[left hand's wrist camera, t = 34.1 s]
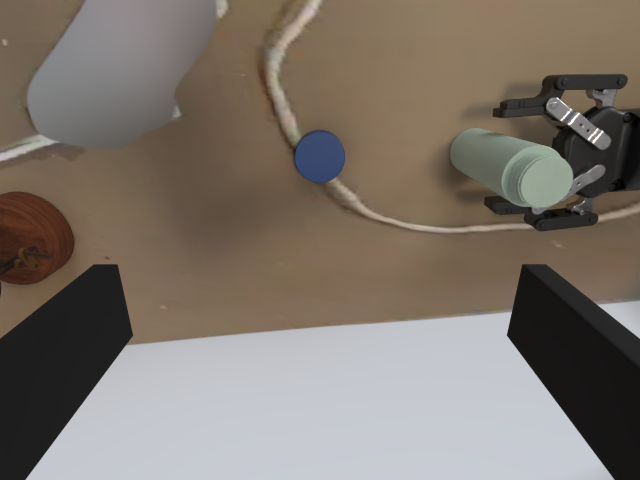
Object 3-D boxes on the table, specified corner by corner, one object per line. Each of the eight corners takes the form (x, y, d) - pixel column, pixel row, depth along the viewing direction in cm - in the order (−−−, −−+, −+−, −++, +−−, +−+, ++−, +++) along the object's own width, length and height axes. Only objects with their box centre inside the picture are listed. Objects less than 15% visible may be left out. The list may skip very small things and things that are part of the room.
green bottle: (458, 123, 42) (530, 142, 27) (501, 133, 42) (593, 158, 28) (443, 167, 43) (502, 207, 29) (484, 177, 44) (562, 220, 30)
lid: (286, 156, 43) (284, 159, 41) (318, 119, 41) (318, 121, 39) (321, 187, 44) (321, 192, 42) (353, 152, 43) (355, 156, 41)
